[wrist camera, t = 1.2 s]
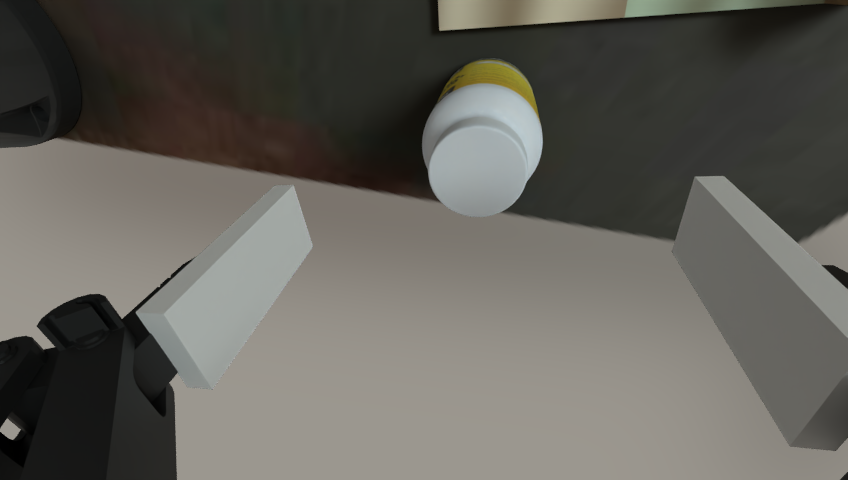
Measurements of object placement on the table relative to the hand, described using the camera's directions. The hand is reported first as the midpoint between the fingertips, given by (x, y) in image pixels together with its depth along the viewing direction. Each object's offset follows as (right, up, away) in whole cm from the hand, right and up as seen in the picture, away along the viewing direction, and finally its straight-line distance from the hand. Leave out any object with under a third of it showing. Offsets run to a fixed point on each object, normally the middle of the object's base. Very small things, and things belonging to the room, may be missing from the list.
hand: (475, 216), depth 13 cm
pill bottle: (+3, +9, +14) cm, 17 cm away
